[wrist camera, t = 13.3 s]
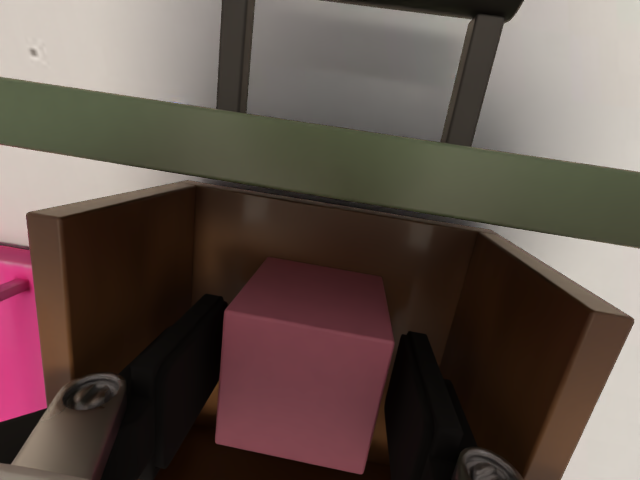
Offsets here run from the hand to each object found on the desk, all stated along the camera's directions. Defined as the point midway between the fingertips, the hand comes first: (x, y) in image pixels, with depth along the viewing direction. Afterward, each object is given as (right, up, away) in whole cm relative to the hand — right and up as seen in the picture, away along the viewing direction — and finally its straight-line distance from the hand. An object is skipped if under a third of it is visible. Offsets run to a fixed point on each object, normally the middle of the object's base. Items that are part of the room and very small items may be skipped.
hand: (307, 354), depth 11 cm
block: (0, +1, +2) cm, 3 cm away
